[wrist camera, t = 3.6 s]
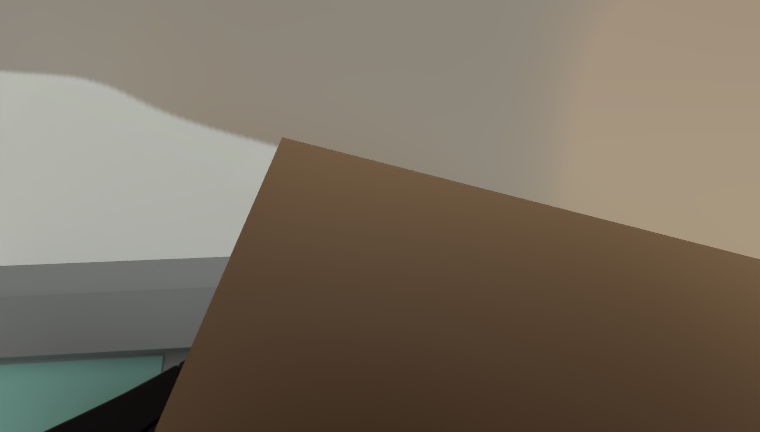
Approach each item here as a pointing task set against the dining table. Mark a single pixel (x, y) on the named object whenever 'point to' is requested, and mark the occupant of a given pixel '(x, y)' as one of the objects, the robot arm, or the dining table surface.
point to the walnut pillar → (462, 315)
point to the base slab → (94, 332)
